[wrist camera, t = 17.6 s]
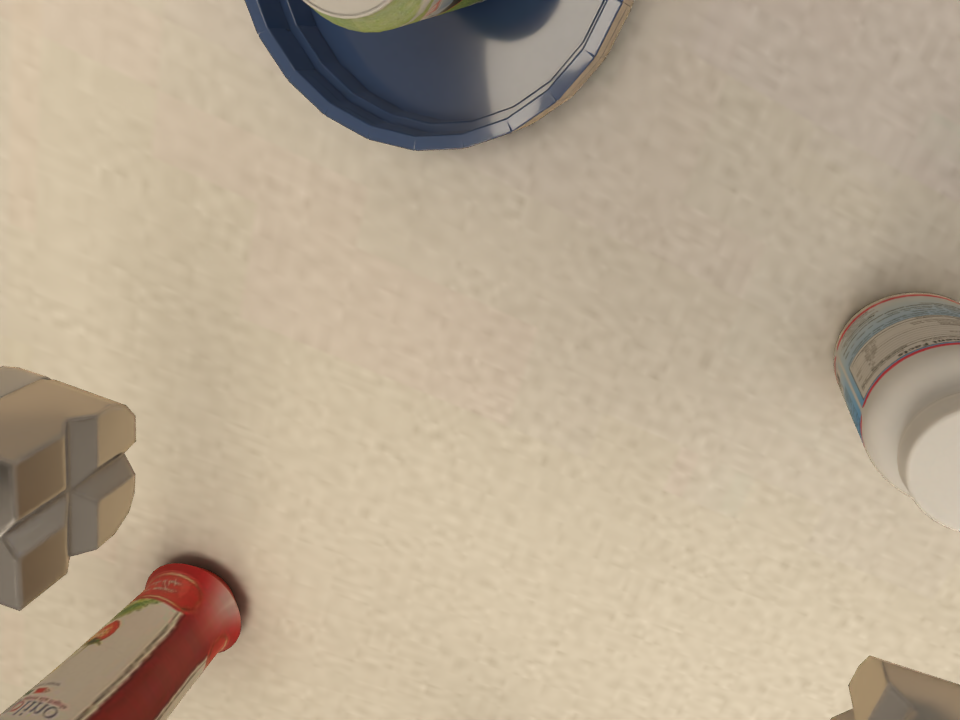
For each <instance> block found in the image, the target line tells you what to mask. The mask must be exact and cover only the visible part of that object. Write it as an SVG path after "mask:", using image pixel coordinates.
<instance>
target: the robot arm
mask: <svg viewBox="0 0 960 720" xmlns="http://www.w3.org/2000/svg"><path fill="white" fill-rule="evenodd" d="M135 442H136V419H135V415H134V413H133V412H132V411H131V410H130V409H129V408H128V407H127V406H126V405H124V404H121V403H118V402H116V401H113V400H110V399H107V398H104V397H102V396H99V395H96V394H93V393H91V392H88V391H85V390H82V389H79V388H77V387H74V386H71V385H68V384H66V383H63V382H60V381H57V380H52V379H50V378H48V377H46V376H43V375H40V374H37V373H34V372H31V371H28V370H25V369H22V368H19V367H7V366H2V367H0V604H2V605H5V606H7V607H10V608H13V609H16V610H19V611H20V610H22V609H23V608H24V607H25V606H27V605H28V604H29V603H30V602H32V601H33V600H34V599H35V598H37V597H38V596H39V595H40V594H42V593H43V592H44V591H45V590H47V589H48V588H49V587H50V586H52V585H53V584H54V583H56V582H57V581H58V580H59V579H61V578H62V577H63V576H64V575H66V574H67V572H68V566H69V560H70V557H71V556H74V555H78V554H82V553H85V552H89V551H93V550H96V549H98V548H99V547H100V546H101V545H102V544H104V543H105V542H106V541H107V540H108V539H110V538H111V537H112V536H113V535H114V534H115V533H116V531H117V530H118V528H119V527H120V525H121V524H122V522H123V521H124V519H125V517H126V516H127V514H128V513H129V510H130V507H131V503H132V500H133V496H134V493H135V473H134V471H133V469H132V467H131V465H130V463H129V461H128V460H127V458H126V456H125V454H124V453H125V452H126V451H127V450H128V449H129V448H130V447H131V446H132V445H133V444H134V443H135ZM848 686H849V691H850V696H851V700H852V705H853V709H851V710H848V711H846V712H844V713H841V714H839V715H837V716H835V717H832V718H831V719H830V720H960V685H959V684H956V683H953V682H950V681H947V680H944V679H941V678H938V677H935V676H932V675H929V674H925V673H922V672H919V671H916V670H913V669H910V668H907V667H904V666H901V665H898V664H895V663H891V662H888V661H885V660H882V659H879V658H876V657H873V656H869V657H868V658H866V659H865V660H864V661H863V662H862V663H861V664H860V665H859V666H858V668H857V670H856V672H855V674H854V676H853V677H852V679H851V681H850V683H849V685H848Z"/></svg>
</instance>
